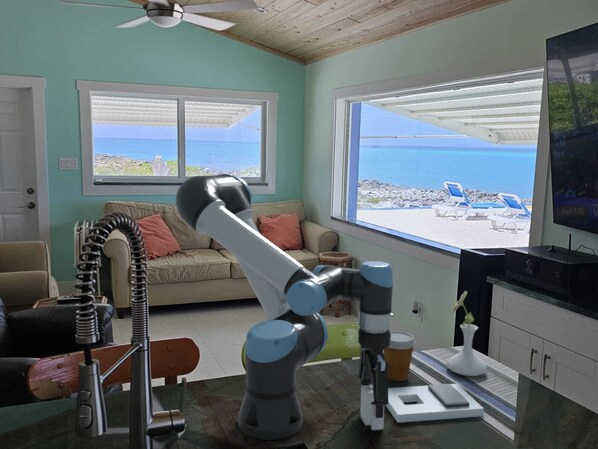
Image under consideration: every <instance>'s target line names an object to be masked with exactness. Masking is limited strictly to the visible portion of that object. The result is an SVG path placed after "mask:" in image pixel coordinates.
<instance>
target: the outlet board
mask: <svg viewBox="0 0 598 449" xmlns="http://www.w3.org/2000/svg"><path fill="white" fill-rule="evenodd" d="M449 384H450V385H451V386H452V387H453V388H454V389H456V390H457V391H458V392H459V393H460V394H461V395H462V396H463V397H464V398H465V399H466V400H467V401H468V402H469V406H467V407H453V408H446V407H445V406H444V405H443V404H442V403H441V402H440V401H439V399H438V398H437V397H436V396H435V395H434V394H433V393H432V392H431V391H430V390H429V389H428V385H417V386H416V385H415V386H404V387H403V386H401V387H388V402H389V403H388V405H385V408H387V409H388V411H389V412H390V414H391V415H392V417H393V419H395V421H396V422H397V423H409V422H422V421H424V422H425V421H435V420H447V419H448V420H449V419H450V420H452V419H463V418H476V417H483V416H484V409H485V408H484V407H483V406H482V404H480V403H478V402H477V401H476V400H475V399H474V398H473V397H472V396H471V395H470V394H469V393H468V392H467V391H466V390H465V389H464V388H462V387H461V386H460V385H459V384H458V383H449ZM413 402H416V403H415V404H405V403H413Z"/></svg>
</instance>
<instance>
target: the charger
mask: <svg viewBox="0 0 598 449" xmlns="http://www.w3.org/2000/svg"><path fill="white" fill-rule="evenodd" d="M361 386H362V385H361ZM371 402H374V398H373V387H372V384H369V385H365V386H362V388H361V387H360V409H361V411H360V419H361V420H362V422H363V423H364V426H371V420H372V405H371Z"/></svg>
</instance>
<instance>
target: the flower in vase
mask: <svg viewBox="0 0 598 449" xmlns="http://www.w3.org/2000/svg"><path fill="white" fill-rule="evenodd" d="M467 295H468V291H466V290H465V291H464V292H463V293H462V294H461V296H460V299H459V300H457V301H456V302H455V304H456V305H455V306H453V308H452V309H451V311H450V313H451V314H454V313H455V312H456V311H457V309H458V308H459V307H463V309H464V311H465V314H466V315H465V316H464V319H465V320H464V321H463V322H462V324H460V326H459V327H460V328H461V330H462V334H463V348H462V350H461V351H459V352H458V353H456V354H455V355H453V356H451V357H450V358H448V359H447V362H446V366H447V369H449V370H450V371H451V372H453V373H455V374H458V375H461V376H465V377H467V376H468V377H476V376H481V375H484V374H485V373H486V372H487V370H488V368H487V367H488V366H487V365H486V363H485V362H484V361H483V360H482V359H481V358H480V357H478V356H477V355H476V354H475V353H474V352H473V340H474V335H475V332H476V331H477V330H478V329H479V327H478V326H477V325H475V324H471V323H473V322H474V321H475V318H474V316H473V314H472V312H471V311H470V312H468V311H467V309H466V307H465V304H464V301H465V298H466V297H467Z"/></svg>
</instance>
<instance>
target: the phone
mask: <svg viewBox="0 0 598 449" xmlns="http://www.w3.org/2000/svg"><path fill="white" fill-rule="evenodd" d="M450 384H451V383H441V384H439V383H438V384H437V383H436V384H428V385H427V386H428V389H429V390H430V391H431V392H432V393H433V394H434V395H435V396H436V397H437V398H438V399H439V401H440V402H441V403H442V404H443V405H444V406H445V407H446V408H453V407H467V406H469V402H468V401H467V400H466V399H465V398H464V397H463V396H462V395H461V394H460V393H459V392H458V391H457V390H456V389H454V388H453V387H452V386H451V385H450Z"/></svg>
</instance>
